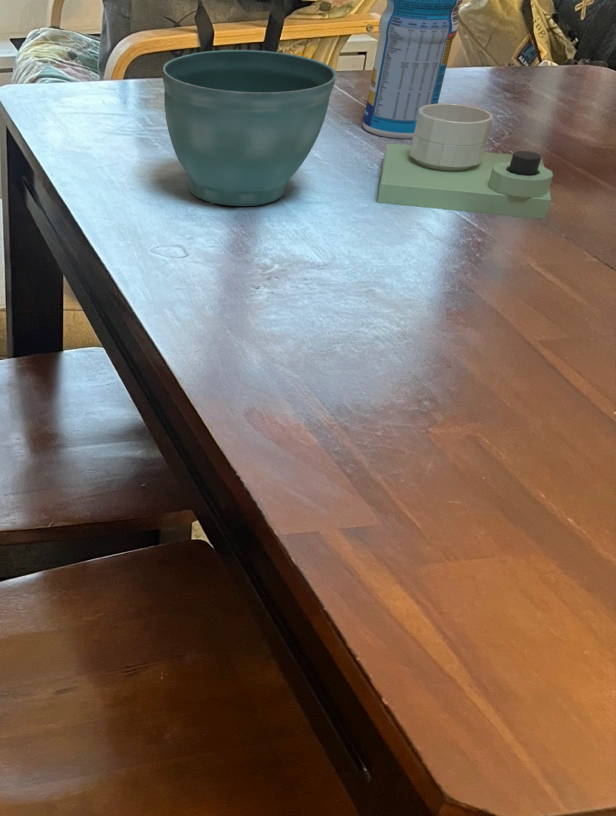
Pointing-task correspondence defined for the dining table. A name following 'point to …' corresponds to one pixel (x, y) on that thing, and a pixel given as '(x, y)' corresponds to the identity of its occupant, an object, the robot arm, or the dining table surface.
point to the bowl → (450, 136)
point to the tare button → (524, 163)
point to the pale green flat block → (464, 186)
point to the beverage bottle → (409, 63)
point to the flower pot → (244, 120)
